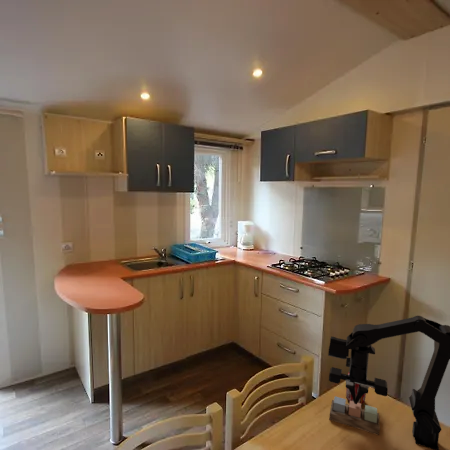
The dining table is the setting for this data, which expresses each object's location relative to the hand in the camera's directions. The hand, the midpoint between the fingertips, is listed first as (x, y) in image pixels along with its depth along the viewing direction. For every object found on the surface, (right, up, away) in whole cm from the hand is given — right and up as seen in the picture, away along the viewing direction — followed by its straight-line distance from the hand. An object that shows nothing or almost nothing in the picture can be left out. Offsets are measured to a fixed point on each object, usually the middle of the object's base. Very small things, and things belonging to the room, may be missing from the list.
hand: (355, 403), depth 113 cm
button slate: (-5, -3, +3) cm, 6 cm away
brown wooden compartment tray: (0, -6, +1) cm, 6 cm away
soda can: (+4, -6, +11) cm, 13 cm away
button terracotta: (0, -4, 0) cm, 4 cm away
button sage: (+5, -4, -2) cm, 6 cm away
